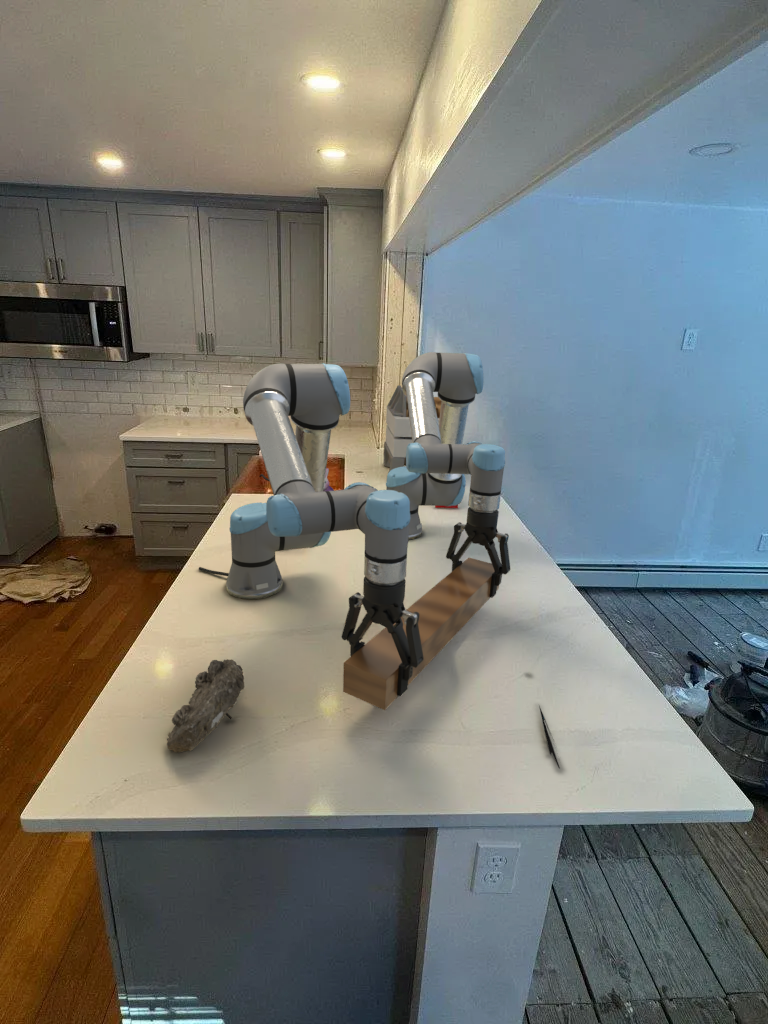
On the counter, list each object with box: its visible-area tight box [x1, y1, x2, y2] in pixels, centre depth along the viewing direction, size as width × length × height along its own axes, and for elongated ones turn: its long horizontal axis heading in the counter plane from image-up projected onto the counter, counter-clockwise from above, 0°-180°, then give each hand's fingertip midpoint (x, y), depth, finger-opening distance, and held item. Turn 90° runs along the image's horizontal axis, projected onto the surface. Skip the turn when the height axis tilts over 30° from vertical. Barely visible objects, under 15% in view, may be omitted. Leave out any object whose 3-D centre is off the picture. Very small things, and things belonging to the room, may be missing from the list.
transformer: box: [383, 384, 442, 471], centre depth 268 cm, size 34×33×41 cm
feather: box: [528, 673, 561, 769], centre depth 112 cm, size 2×28×2 cm
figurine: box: [323, 467, 335, 491], centre depth 222 cm, size 9×10×15 cm
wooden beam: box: [342, 557, 500, 711], centre depth 127 cm, size 58×9×7 cm, turn 149°
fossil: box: [166, 658, 245, 754], centre depth 106 cm, size 22×10×15 cm
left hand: (379, 682), depth 109 cm, fingers closed on wooden beam, 9 cm apart
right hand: (474, 590), depth 146 cm, fingers closed on wooden beam, 9 cm apart
